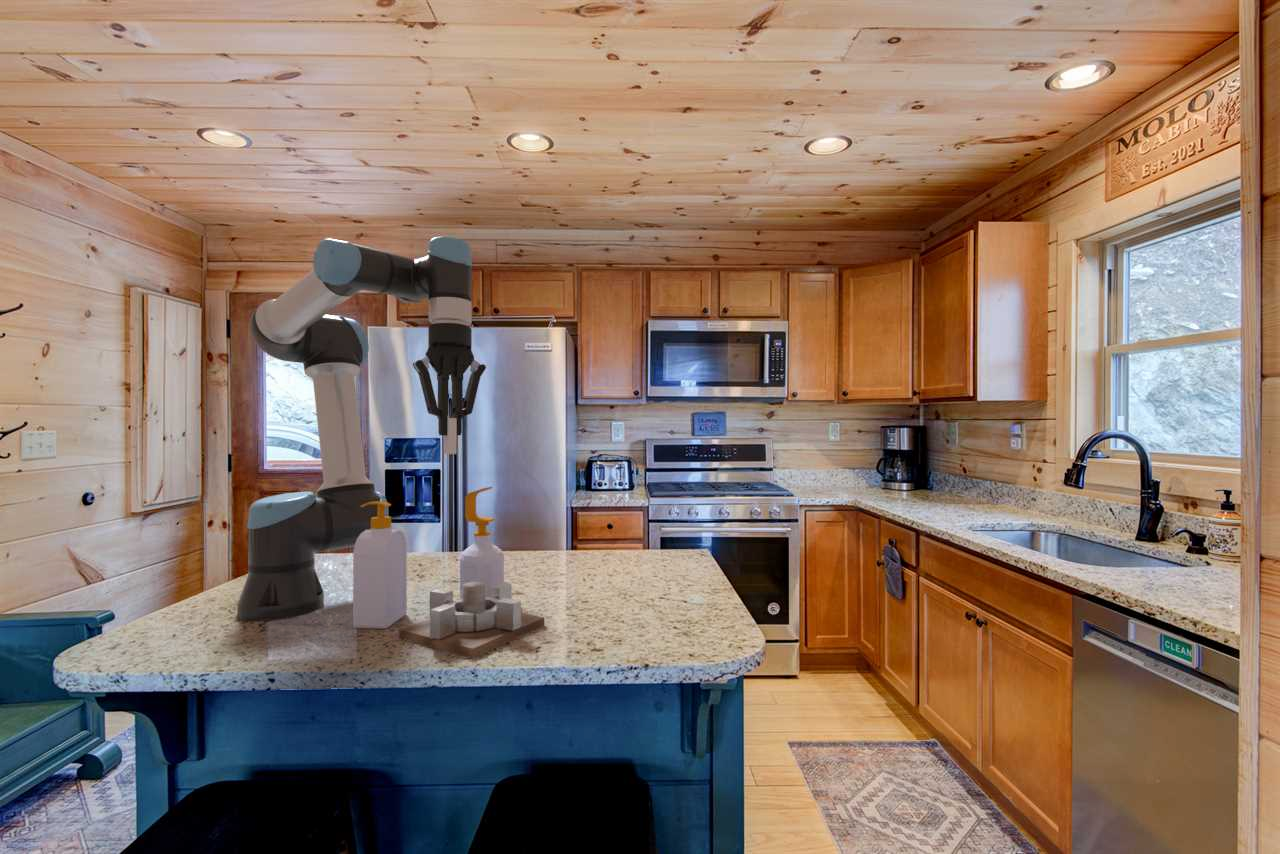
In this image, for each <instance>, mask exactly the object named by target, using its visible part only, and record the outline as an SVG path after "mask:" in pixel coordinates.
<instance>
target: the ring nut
mask: <svg viewBox="0 0 1280 854" xmlns="http://www.w3.org/2000/svg"><path fill="white" fill-rule="evenodd" d="M512 587H513V586H512V583H508V582H504V583H500V584H498V585H495V586H492V587H491V597H485V610H484V611H479V612H462V599H460V598H459V599H455V600H454V598H453V597H454V593H453V592H454V590H452V589H445V588H436V589H432V590H429V619H430V637H431V638H437V639H442V638H444V637H446V636H448V635H451V634H453V633H455V631H468V632H473V631H474V630H476V631H480V630H484V629H489V628H493V627H496V628H501V629H507V630H512V631H513V630H515V629H517V628H519V627H521V613H522V607H521V605H522V601H521V600H517V599H512V598H513V597H512V593H513V592H512V590H513V589H512Z"/></svg>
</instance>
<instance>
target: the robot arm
mask: <svg viewBox="0 0 1280 854" xmlns="http://www.w3.org/2000/svg"><path fill="white" fill-rule="evenodd" d="M427 254H428V255H426V256H424V257H420V258H418V259H417V258H411V257H408V256H404V255H400V254H395V253H392V252H387V251H383V250H380V249H375V248H371V247H368V246H364V245H360V244H356V243H354V242H351V241H348V240H339V239H335V238H334V239H333V238H324V239H321V241H319V243H318V244H317V247H316V249H315V251H314V253H313V259H312V264H313V265H312V267H313V268H312V269H311V270H310V271H309V272H308V273H306V274H305V275H304V276H303V277H301V279H299V280H297V281H296V283H294V284H293V285H291V287H289V288H287V290H286V291H284V292H283V293H282V294H281V295H279V296H278V297H277V298H273V299H268V300H265V301H264V302H262V303H261V304H260V305H258V307H257V308H255V310H254V311H253V312H252V314H251V316H250V318H249V323H248V324H249V333H250V336H251V338H252V340H253V341H254V343H255V345H256V346H257V347H258V348H259V349H260V350H261V351H262V352H264V353H266V354H267V355H268V356H270V357H272V358H274V359H277V360H280V361H283V362H288V363H289V362H290V363H291V362H292V363H299V364H303V369H304V374H305V375H306V376H307V377H308V378H309V379H311V380H312V383H313V384H312V385H313V393H314V401H315V403H314V404H315V411H316V421H317V422H316V423H317V429H318V430H317V431H318V440H319V449H320V458H321V467H322V477H323V479H322V480H323V483H322V484H321V485H320V486H319V488H318V489H316V494H317V496H315V493H314V492H313V491H297V492H296V491H295V492H289V493H288V492H287V493H281V494H275V495H271V496H267V497H263V498H260V499H258V500H256V501H254V502H253V503H251V505H250V507H249V509H248V520H247V523H246V527H247V534H248V535H247V540H248V541H247V545H248V547H247V555H248V556H247V557H248V558H247V562H248V563H247V566H248V567H247V569H248V570H247V577H246V580H245V582H244V585H243V588H242V591H241V594H240V596H239V598H238V601H237V606H236V607H237V609H236V611H237V617H238V618H239V619H242V620H248V621H268V620H269V621H270V620H279V619H287V618H293V617H296V616H301V615H305V614H308V613H312V612H314V611H316V610H318V609H319V608H320V609H321V608H322V607H323V606H324V603H325V593H324V590H323V587H322V584H321V581H320V579H319V576H318V573H317V570H316V567H315V556H316V553H323V552H328V551H329V552H330V551H335V550H342V549H346V548H348V549H349V548H354V546H355V543H356V540H357V538H358V537H359V535H360V534H361V533H362V532H363V531H365V530H370V529H371V518H372V517H377V504H369V505H366V506H364V507H361V505H363V504H365V503H369V502H377V501H382V502H387V503H388V501H387V498H386V497H385V495H384V494H383V493H382V492H379V491H376V489H375V482H373V481H371V480H370V479H369V478H368V477H367V475H366V474H367V473H366V467H365V466H366V465H365V458H364V457H365V455H364V449H363V442H362V441H363V440H362V431H361V423H360V413H359V406H358V397H357V389H356V387H357V386H356V379H355V377H357V375H358V374H360V372H361V367H362V366H364V365H365V364H366V362H367V360H368V358H369V355H368V353H369V351H370V350H369V349H370V345H369V339H368V336H367V333H366V331H365V328H364V327H363V325H361V324H360V323H359V322H358V321H357V320H355V319H353V318H348V317H344V316H341V315H337V314H336V315H330V314H329V313H330V312H332V311H334V309H336V308H338V307H339V306H340V305H342V304H343V303H344V302H346V301H347V300H349V299H350V298H351V297H353V296H354V295H356V294H358V293H359V292H360V291H366V292H373V293H378V294H384V295H388V296H389V295H390V296H393V297H395V299H397V300H398V301H400V302H402V303H407V304H409V303H410V304H411V303H415V304H416V303H421V302H424V301H427V300H428V322H429V323H431V324H429V325H428V329H427V330H428V331H427V332H428V348H427V351H426V352H425V356H423V357H422V358H421V359H418V360H415V361H414V362H413V363H412V367H413V368H414V370H415V371H416V372H417V374H418V377H419V381H420V385H421V390H422V393H423V397H424V402H425V405H426V410H427V413H428V414H429V415H432V416H435V417H437V420H438V435H439V436H443V454H444V455H457V452H458V451H457V450H458V448H457V446H458V445H457V437H458V436H461V435H462V430H463V429H462V426H463V423H462V422H463V418H464V417H465V416H468V415H471V414H472V413H473V411H474V405H475V400H476V397H477V394H478V389H479V385H480V381H481V377H482V375H483V373H485V371H486V369H487V367H486V365H485V364H483V363H480V362H478V361H477V360H475V355H474V353H473V351H472V346H473V345H472V344H473V343H472V337H473V335H472V333H473V332H472V327H471V326H470V325H471V324H472V322H473V321H472V317H473V316H472V315H473V314H472V313H473V312H472V295H473V293H472V291H473V290H472V288H473V287H472V286H473V284H472V283H473V282H472V279H473V262H472V248H471V246H470V244H469V243H468V242H467V241H466V240H464V239H460V238H459V237H454V236H453V237H452V236H438V237H437V236H436V237H433V238H431V239H430V241H429V242H428V248H427ZM429 364H430V365H429ZM430 366H431V367H432V369H433V370H434V372H435V373H436V379H437V380H436V381H437V400H436V394H435V392H434V387H433V383H432V378H431V375H430V371H429V369H430ZM469 368H470V369H469ZM468 369H469V370H470V372H471V373H470V375H469V379H468V383H467V387H466V391H465V396H464V395H463V393H464V392H463V390H464V389H463V387H464V386H463V385H464V383H463V381H464V374H465V372H466V371H467V370H468ZM449 380H450V381H451V416H452V417H449ZM463 396H464V399H463ZM389 514H390V513H389V507H385V516H389Z"/></svg>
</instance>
